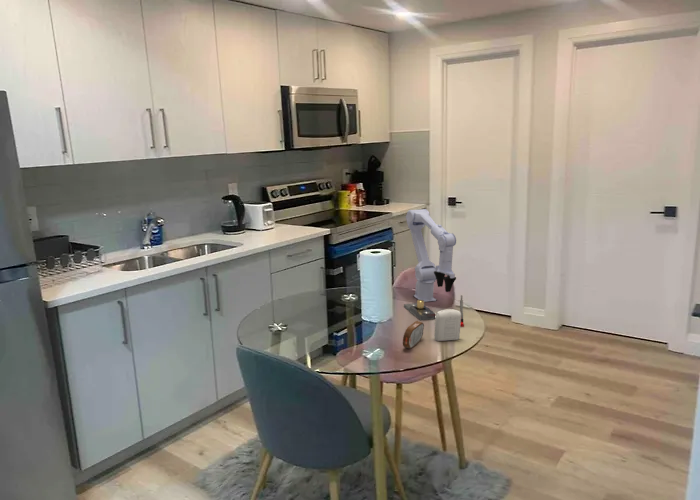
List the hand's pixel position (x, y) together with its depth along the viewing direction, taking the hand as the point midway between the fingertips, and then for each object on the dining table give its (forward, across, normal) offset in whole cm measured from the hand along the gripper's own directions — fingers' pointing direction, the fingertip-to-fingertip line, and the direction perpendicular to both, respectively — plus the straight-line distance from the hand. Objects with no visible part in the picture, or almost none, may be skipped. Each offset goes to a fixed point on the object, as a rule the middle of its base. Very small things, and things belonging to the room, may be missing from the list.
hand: (443, 289), depth 244 cm
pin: (+9, +3, -13) cm, 16 cm away
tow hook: (+10, +18, -5) cm, 21 cm away
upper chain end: (+9, +5, -13) cm, 17 cm away
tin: (+10, +33, -30) cm, 46 cm away
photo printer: (+10, +32, -15) cm, 37 cm away
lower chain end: (+9, 0, -13) cm, 16 cm away
